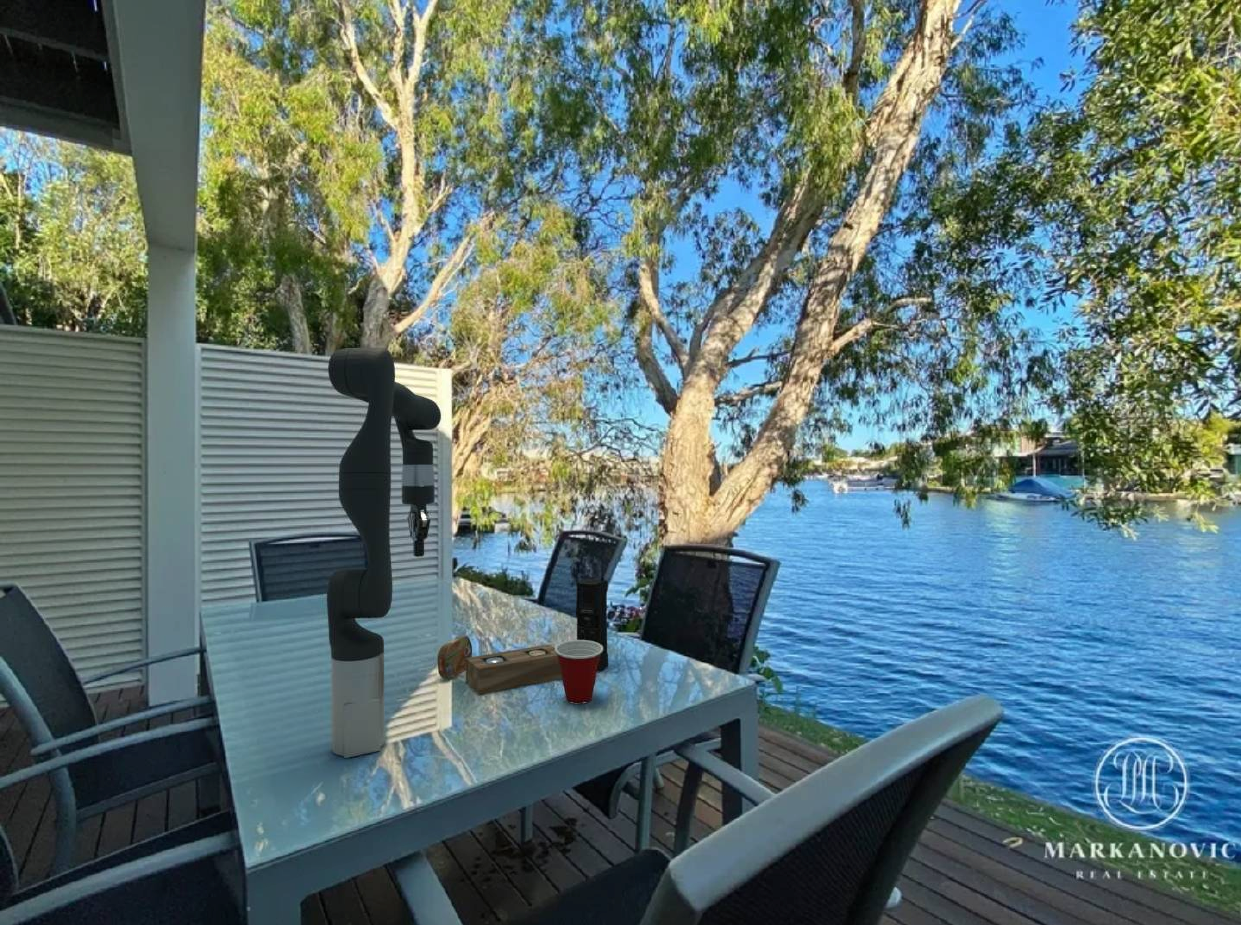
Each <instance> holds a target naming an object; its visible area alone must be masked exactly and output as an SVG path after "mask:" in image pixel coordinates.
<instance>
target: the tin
mask: <svg viewBox="0 0 1241 925" xmlns="http://www.w3.org/2000/svg"><path fill="white" fill-rule="evenodd" d="M469 657H473V646H472V641H471V639H470V638H469V636H467V635H465V636H456V637H455V638H453V639H451V640H449V641H448V642H446V643H445V644H443V645H442V646H440V649H439V651H438V654H437V658H436V659H437V670H438V675H439V677H440V678H442V679H451V680H452V679H453V680H454V679H455V678H456V677H458V676H459V675H461V674H462V673H463V672H464V671H466V658H469Z"/></svg>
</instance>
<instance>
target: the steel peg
mask: <svg viewBox="0 0 1241 925" xmlns="http://www.w3.org/2000/svg"><path fill="white" fill-rule="evenodd" d="M502 661H503V659H502V658H498V657H494V658H489V659H487V660H486V662H487V663H488V664H490V663H496V662H502Z"/></svg>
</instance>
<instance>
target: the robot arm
mask: <svg viewBox="0 0 1241 925" xmlns="http://www.w3.org/2000/svg"><path fill="white" fill-rule="evenodd" d="M327 371H328V372H327V373H328V379H329V381H330V384H331V386H332V387H333V388H334V390H335V391H336V392H337V393H339V394H340V395H343V396H345V397H348V398H349V397H350V398H354V399H357V400H360V401H362V402H365V403H368V404H367V406H368V407H367V411H366V412H367V413H366V416H365V419H364V420H363V423H362V425H361V427H360V429H359V431H358V432H357V434H356V435H355V437H354V438H353V439H352V441H351V442H350V444H349V445H348V447H347V449H346V451H345V452H344V454H343V455H342V458H341V460H340V462H339V467H338V500H339V503H340V505H341V506H342V509H343V511H344V512H345V514H346V515H347V518H349V520H350V521H351V523H352V524H353V526H354V527H355V528H354V529H356V531H357V532H358V534H359V535H360V538H361V539H362V541H363V544H364V547H365V551H366V555H367V562H368V568H341V569H337V570H335V571H333V573H331V575H330V577H329V581H328V582H327V587H326V588H327V590H326V609H327V611H326V612H327V625H328V626H327V628H328V641H329V643H328V644H329V645H330V653H331V654H330V658H331V660H330V664H331V671H330V672H331V674H330V676H331V677H330V678H331V683H330V684H331V689H330V690H331V691H330V692H331V693H330V694H331V699H330V700H331V751H332V753H333V754H335V755H337V756H341V757H343V758H344V759H348V758H351V757H356V756H362V755H366V754H369V753H375V752H378V751H381V748H382V746H384V745H385V743H386V742H385V740H386V739H385V738H386V737H385V736H386V735H385V732H386V731H385V726H386V725H385V723H386V722H385V642H384V637H383V636H382V635H380V634H379V633H377V632H373V631H371V630H369V629H367V628H366V627H363V626H362V625H360V624H359V623H358V622H357V620H356V619H381V618H384V617H386V615H387V614H388V613H389V611H390V609H391V607H392V606H391V605H392V601H393V571H392V570H393V568H392V556H391V555H392V554H391V543H390V542H391V538H390V536H391V535H390V534H391V533H390V532H391V530H390V529H391V528H390V520H391V516H390V515H391V494H392V490H391V489H392V460H391V457H392V456H391V453H392V452H391V451H392V450H391V438H392V437H391V436H392V435H391V434H392V430H391V429H392V418H394V422H395V425H396V428H397V432H398V436H399V438H400V443H401V448H402V470H401V503H402V504H403V505H410V508H409V511H408V515H407V519H406V520H407V523H408V530H409V537H411V539H412V542H413V543H412V544H413V545H412V547H413V548H412V549H413V552H412V555H413V556H414V557H417V558H418V557H424V556H425V541H426V539H428V534H429V530H430V525H431V518H429V517H430V516H429V515H430V514H429V513H430V512H429V511H428V509H427V505H430V504H434V503H435V499H436V498H435V495H436V494H435V471H434V446H433V443H432V442H431V441H429V440H425V439H420V438H417V436H415V434H414V431H432V430H434V429H436V428H437V427H438V426H439V425H440V423H441V420H442V412H441V409H440V407H439V406H438V404H437V403H436V402H435V401H434V400H433V399H430V398H428V397H425V396H422V395H419V394H416V393H414V392H413V391H412V390H411V389H410V388H408V387H407V386H406V385H404V384H401V383H399V382H396V367H395V361H394V357H393V355H392V352H391V351H390V350H389V349H387V348H384V347H345V348H341V349H340V348H339V349H337V350H336V351H334V352H333V353H332V354H331V356H330V358H329V360H328V366H327Z"/></svg>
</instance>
